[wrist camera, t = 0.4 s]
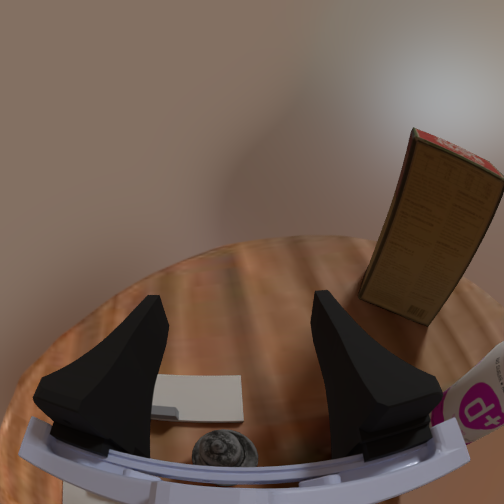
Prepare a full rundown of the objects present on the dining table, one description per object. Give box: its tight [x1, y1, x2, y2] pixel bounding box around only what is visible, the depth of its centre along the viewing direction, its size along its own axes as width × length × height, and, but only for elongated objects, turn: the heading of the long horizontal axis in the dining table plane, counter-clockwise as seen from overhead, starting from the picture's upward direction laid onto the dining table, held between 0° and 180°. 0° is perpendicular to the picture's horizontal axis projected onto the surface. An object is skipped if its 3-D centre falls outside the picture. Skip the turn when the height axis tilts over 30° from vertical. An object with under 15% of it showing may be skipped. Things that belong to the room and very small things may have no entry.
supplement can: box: [428, 341, 504, 445], centre depth 17 cm, size 8×8×15 cm
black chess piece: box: [192, 429, 258, 486], centre depth 17 cm, size 6×6×12 cm
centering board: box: [63, 374, 244, 504], centre depth 19 cm, size 20×20×2 cm
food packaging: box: [358, 128, 504, 326], centre depth 31 cm, size 13×9×25 cm
